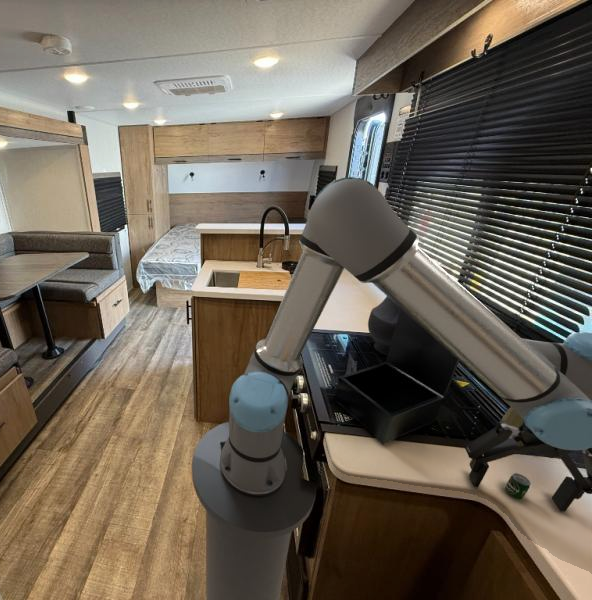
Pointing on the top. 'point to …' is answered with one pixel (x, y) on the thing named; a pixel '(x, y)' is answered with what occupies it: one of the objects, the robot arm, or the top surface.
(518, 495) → the beer can
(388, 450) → the top surface
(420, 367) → the compartment lid
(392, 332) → the pitcher
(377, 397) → the compartment
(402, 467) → the top surface
